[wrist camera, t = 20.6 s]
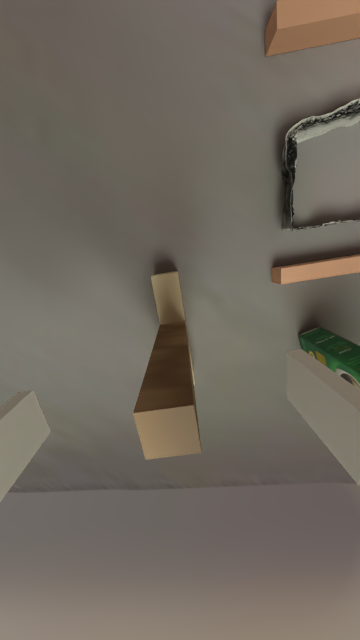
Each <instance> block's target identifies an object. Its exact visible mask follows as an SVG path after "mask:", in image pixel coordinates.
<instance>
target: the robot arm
mask: <svg viewBox="0 0 360 640" xmlns="http://www.w3.org/2000/svg"><path fill="white" fill-rule="evenodd" d="M286 397H287V399H288V400H289V401H290V402H291V403H292V405H293V406H294V407H295V408H296V410H297V411H298V412H299V413H300V414H301V416H302V417H303V418H304V419H305V421H306V422H307V423H308V424H309V425H310V427H311V428H312V429H313V430H314V432H315V433H316V434H317V435H318V436H319V438H320V439H321V440H322V441H323V443H324V444H325V445H326V446H327V447H328V449H329V450H330V451H331V452H332V454H333V455H334V456H335V457H336V458H337V460H338V461H339V462H340V463H341V465H342V466H343V467H344V468H345V469H346V471H347V472H348V473H349V474H350V476H351V477H352V478H353V479H354V480H355V482H356V483H357V484H358V485H359V487H360V390H359V389H358V388H356V387H355V386H353V385H352V384H351V383H349V382H348V381H346V380H345V379H343V378H342V377H341V376H339V375H338V374H336V373H335V372H333V371H332V370H331V369H329V368H328V367H326V366H325V365H323V364H322V363H321V362H319V361H318V360H316V359H315V358H313V357H312V356H311V355H309V354H308V353H306V352H305V351H303V350H302V349H298V350H292V351H286ZM50 432H51V431H50V429H49V426H48V424H47V422H46V419H45V417H44V415H43V412H42V410H41V408H40V405H39V403H38V401H37V398H36V396H35V394H34V391H33V390H30V391H23V392H18V393H17V394H16V395H15V396H13V397H12V398H11V399H10V400H9V401H7V402H6V403H5V404H4V405H3V406H2V407H0V502H1V500H2V499H3V498H4V496H5V495H6V493H7V492H8V491H9V489H10V488H11V487H12V485H13V484H14V482H15V481H16V480H17V478H18V477H19V475H20V474H21V473H22V471H23V470H24V469H25V467H26V466H27V464H28V463H29V462H30V460H31V459H32V457H33V456H34V455H35V453H36V452H37V451H38V449H39V448H40V446H41V445H42V444H43V442H44V441H45V439H46V438H47V437H48V435H49V434H50Z"/></svg>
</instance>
